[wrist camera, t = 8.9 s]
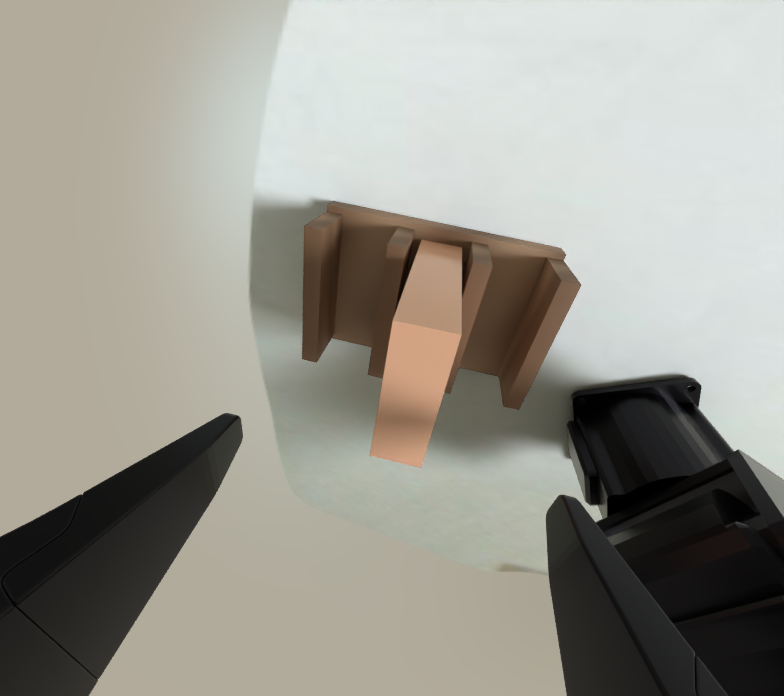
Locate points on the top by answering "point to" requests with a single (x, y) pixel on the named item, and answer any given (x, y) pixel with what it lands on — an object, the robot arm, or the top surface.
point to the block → (420, 354)
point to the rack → (479, 292)
